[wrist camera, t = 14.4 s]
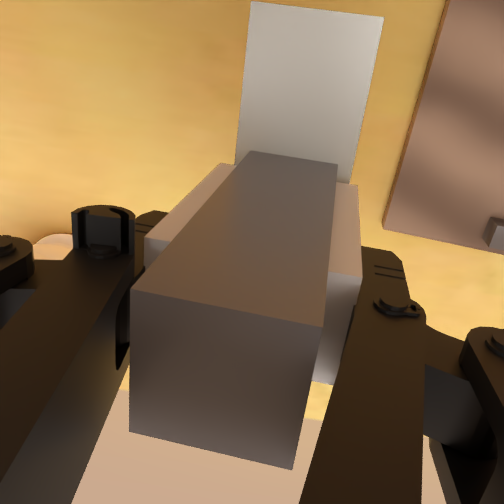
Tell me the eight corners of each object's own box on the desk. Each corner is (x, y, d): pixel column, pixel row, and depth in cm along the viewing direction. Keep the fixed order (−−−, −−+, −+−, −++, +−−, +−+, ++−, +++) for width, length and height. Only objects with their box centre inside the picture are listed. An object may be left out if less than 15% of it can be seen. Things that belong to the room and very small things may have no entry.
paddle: (266, 6, 17) (91, -56, 6) (379, 20, 17) (445, -15, 5) (233, 293, 22) (106, 575, 11) (318, 310, 22) (283, 624, 10)
